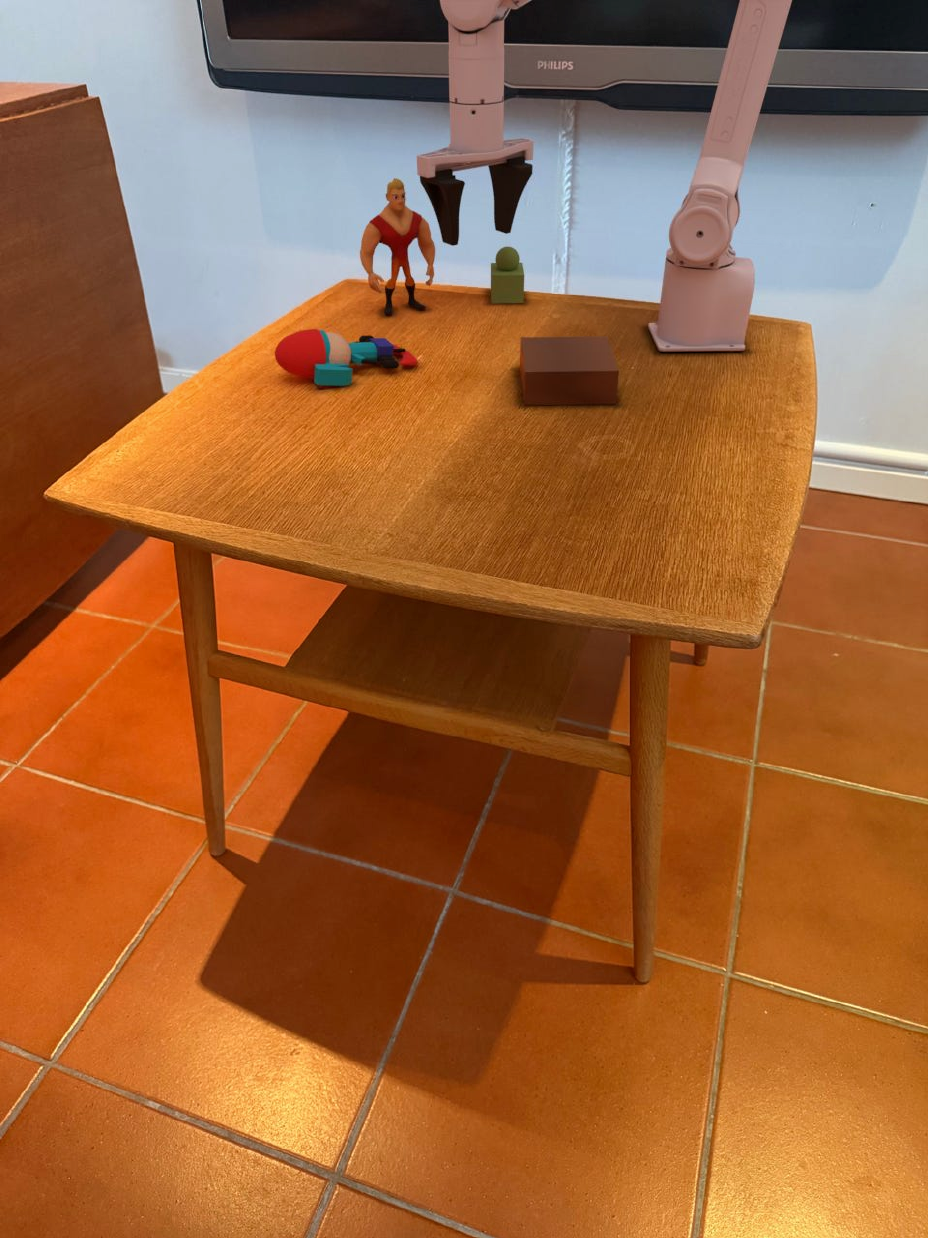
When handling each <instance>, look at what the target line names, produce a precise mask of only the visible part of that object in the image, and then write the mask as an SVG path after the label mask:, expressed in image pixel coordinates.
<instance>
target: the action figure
mask: <svg viewBox="0 0 928 1238" xmlns="http://www.w3.org/2000/svg"><path fill="white" fill-rule="evenodd" d="M386 188H387V189H386V193H385V199H386V201H388V203H387V205H386V206H385V207H384V208H383V209H382V211H381V212H379V214H377V215H375V217H373V218H372V219H370V220H369V222H368V223H367V225H366V226H365V228H364V231H363V234H362V237H361V241H360V242H361V244H360V250H359V258H360V259H359V260H360V262H361V266H362V268H363V270H364V271H365V272H366V274H367V275H368V277H367V281H368V282H367V283H368V286H369V287H370V289H371V290H372V291H375V292H376V293H378V294H382V293H383V292H384V295H385V305H384V309H383V313H384V315H385V316H391V315H393V313H394V310H393V307H394V306H393V294H394V291H395V290H396V284H397V281H398V278H399V274H400V269H402V272H403V275H404V278H405V279H404V287H405V289H406V291H407V295H408V300H407V305H408V306H409V307H415V308H416V309H418V310H419V311H424V310H426V306H425V304H422V303H420V302H419V301H418V300H416V299H415V290H416V283H415V279H414V278H413V276H412V274H411V267H410V261H409V247H410V245H411V244H412V242H413V241H414V240H415V239H417V245H418V248H419V251H420V253H421V255H422V256H423V258H424V260H425V262H426V264H427V268H426V272H425V275H426V276H428V277H429V279H428V280H426V281H425V285H426V286H427V287H430V286H432V284H433V282H434V276H435V268H434V263H435V257H436V246H435V242H434V240H433V239H432V231H431V228H430V224H429V222H428V221H427V219H425V218H424V217H423V216H422V214H419V213H418V212H416V211H414V210H412V209H410V208H409V207H408V206H407V205H406V201H407V197H406V191H405V184H404V182H403V181H402V180H400V179H399V178H396V177H394V178H393V179H392V181H390V182H388V184H387V185H386ZM379 244H382V245H385V246H387V247H388V248H389V250H390V252H391V261H390V262H391V264H390V265H391V266H390V267H391V269H390V279H388V280H387V281H386V284H385V286H384V289H383V287H381V285H380V283H384V282H385V280H384V279H383V278H382V276H381V275H379V274H377V273H375V272H374V255H375V253H376V249H377V247H378V246H379ZM379 282H380V283H379Z"/></svg>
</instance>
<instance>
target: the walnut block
mask: <svg viewBox="0 0 928 1238" xmlns="http://www.w3.org/2000/svg"><path fill="white" fill-rule="evenodd" d="M519 344H520V345H519V347H520V349H519V374H520V382H521V392H522V398H523V399H522V400H523V406H584V405H585V406H593V405H595V406H598V405H599V406H601V405H606V406H607V405H616V404H617V403H616V402H617V393H618V385H619V376H620V375H619V374H620V370H619V367H618V364H617V362H616V359H615V355H614V352H613V349H612V347H611V343H610V341H609V338H608V336H533V337H531V336H530V337H526V336H525V337H524V336H523V337H520V343H519Z"/></svg>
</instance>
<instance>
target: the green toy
mask: <svg viewBox="0 0 928 1238" xmlns="http://www.w3.org/2000/svg"><path fill="white" fill-rule="evenodd" d="M494 259H495V260H494V261H495V262H490V299H491V301H490V303H491V304H493V305H494V304H495V305H496V304H497V305H499V304H502V305H503V304H524V302H525V301H524V299H525V271H524V265H523V262H520V261H521V259H520V254H519V252H518V251H517V249H516V248H514V247H513V246H503V247H502V248H500V249H499V250H498V251H497V253H496V255H495V258H494Z"/></svg>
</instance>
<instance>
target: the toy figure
mask: <svg viewBox="0 0 928 1238" xmlns="http://www.w3.org/2000/svg"><path fill="white" fill-rule="evenodd" d="M394 355H397V356H400V357H402V358H401V361H400V362H399V361H398V360H397V359H396V358H395V357H394ZM274 358H275V361H276V363H277V364H278V365H279V367H280V368H282V369H283V370H284V371H285V372H287V373H289V374H291V375H294V376H297V377H299V378H305V379H313V382H314V384H315V385H317V386H337V387H339V386H340V387H341V386H343V387H345V386H350V385H352V379H353V370H354V368H352V367H350V365H354V364H355V365H359V366H362V365H381V366H382V368H383V369H386V370H387V369H388V370H389V369H391V370H393V369H395V370H396V369H398V368H399V366H400V365H402V366H416V365H418V364H419V362H418V359H417V358H416V357H415V355H413V354H412V353H411V352H409V351H408V350H406V348H401V347H400V346H398V345H396V344H392V343H391V342H390V341H389V340H388V339H387V338H385V337H374V336H373V335H371V334H370V335H368V334H367V335H366V334H365V335H361V336H360V337H359V338H358V340H356V341H352V342H348V341H347V339H345V338H344V337H343V336H342V335H340V334H339V333H337V332H332V331H325V330H323V329H318V328H310V329H303V330H298V331H295V332H293V333H290V334H289V335H286V336H285V337H284V338H282V339H281V340H280V341H279V342H278V344H277V345H276V347H275V350H274Z"/></svg>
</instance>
